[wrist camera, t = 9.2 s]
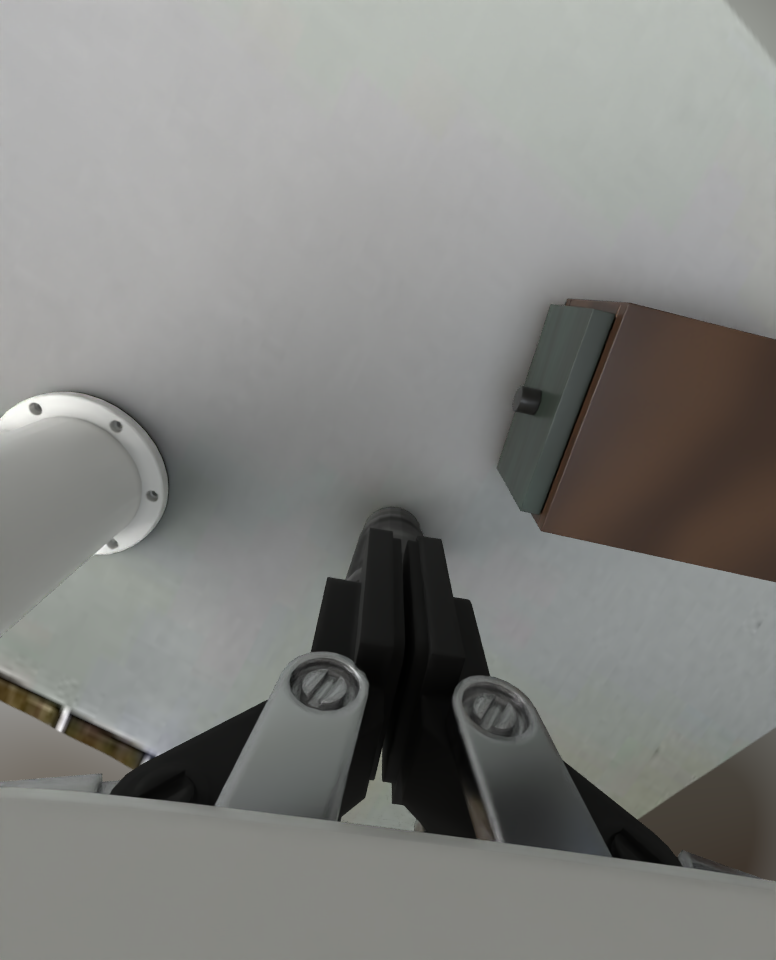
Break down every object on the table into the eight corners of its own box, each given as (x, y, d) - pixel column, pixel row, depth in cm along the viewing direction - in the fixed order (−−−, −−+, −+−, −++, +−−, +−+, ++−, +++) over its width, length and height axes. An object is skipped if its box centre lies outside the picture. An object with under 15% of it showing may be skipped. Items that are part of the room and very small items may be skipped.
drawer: (480, 464, 35) (500, 506, 29) (532, 299, 31) (570, 302, 25) (672, 507, 36) (736, 558, 30) (747, 353, 32) (840, 370, 26)
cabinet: (507, 474, 37) (540, 531, 28) (567, 298, 32) (628, 302, 24) (691, 516, 38) (777, 582, 29) (774, 350, 33) (904, 372, 25)
